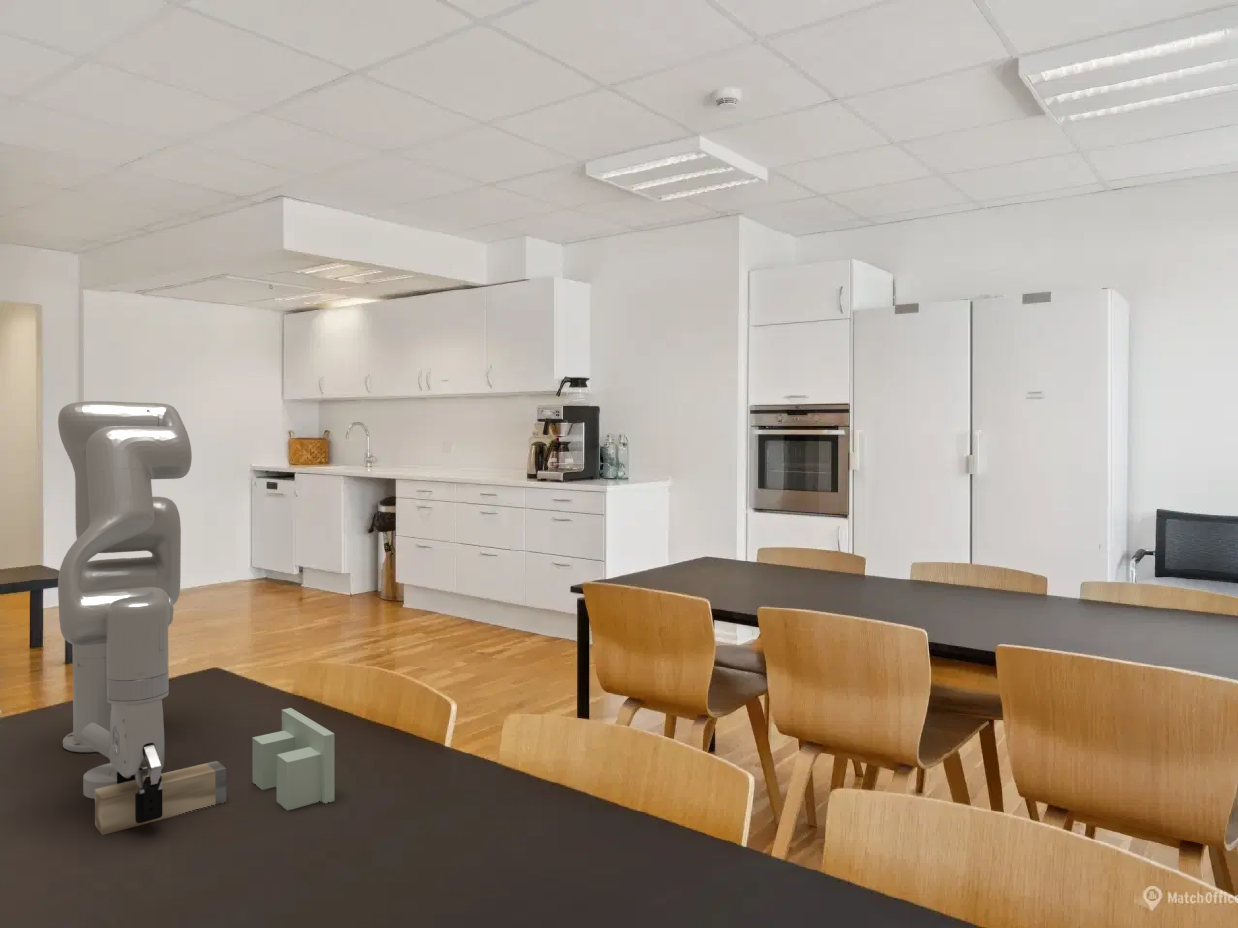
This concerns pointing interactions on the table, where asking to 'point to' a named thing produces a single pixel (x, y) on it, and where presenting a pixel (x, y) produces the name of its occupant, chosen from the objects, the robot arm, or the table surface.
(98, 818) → the rail
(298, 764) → the sage panel with pillars
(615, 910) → the table surface
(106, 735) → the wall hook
